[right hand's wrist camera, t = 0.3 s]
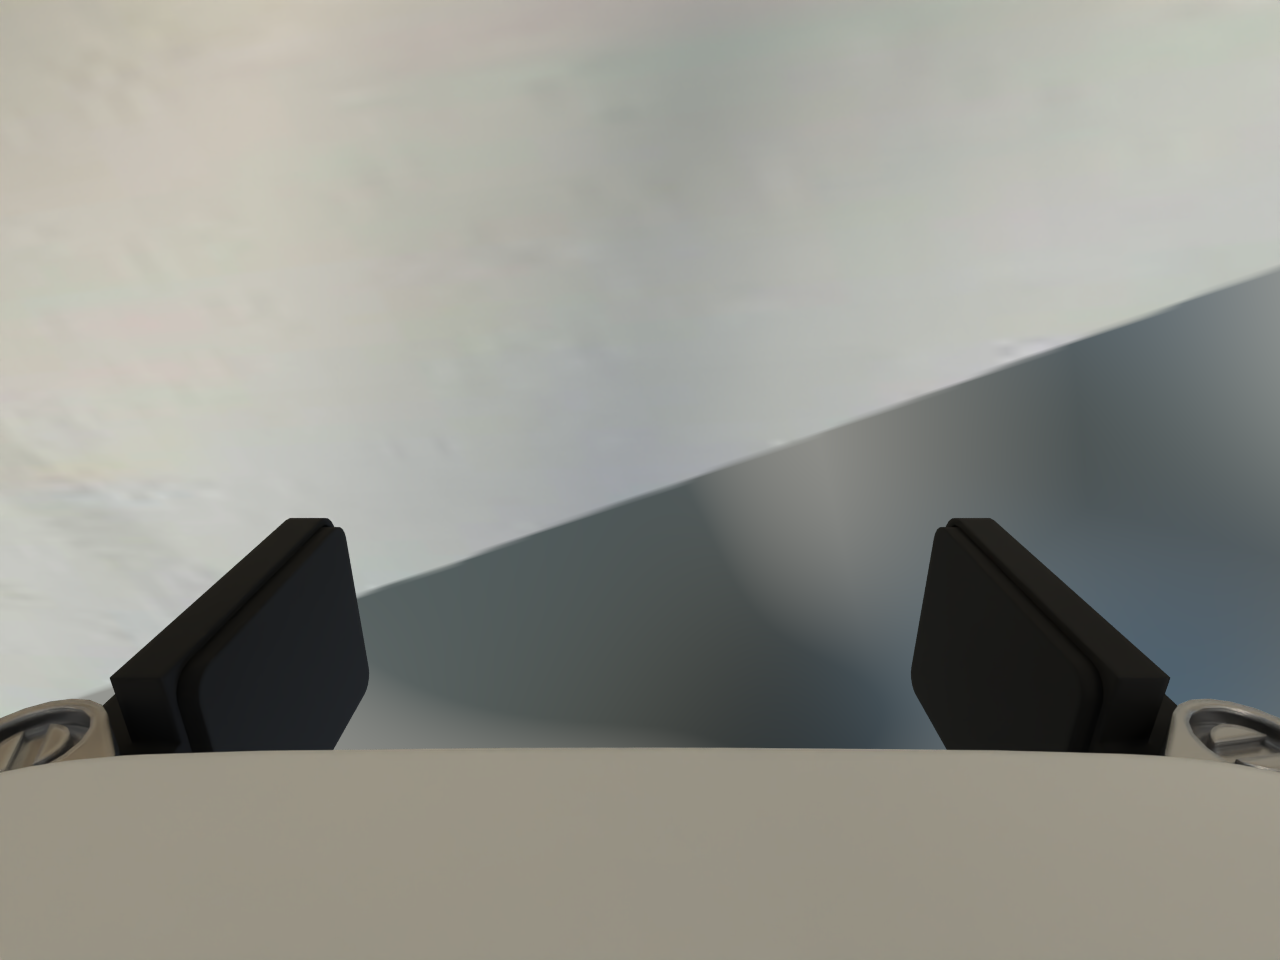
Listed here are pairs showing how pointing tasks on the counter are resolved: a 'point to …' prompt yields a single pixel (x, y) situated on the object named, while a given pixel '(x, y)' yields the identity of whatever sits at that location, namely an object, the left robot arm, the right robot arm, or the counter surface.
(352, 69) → the counter surface
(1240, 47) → the counter surface
